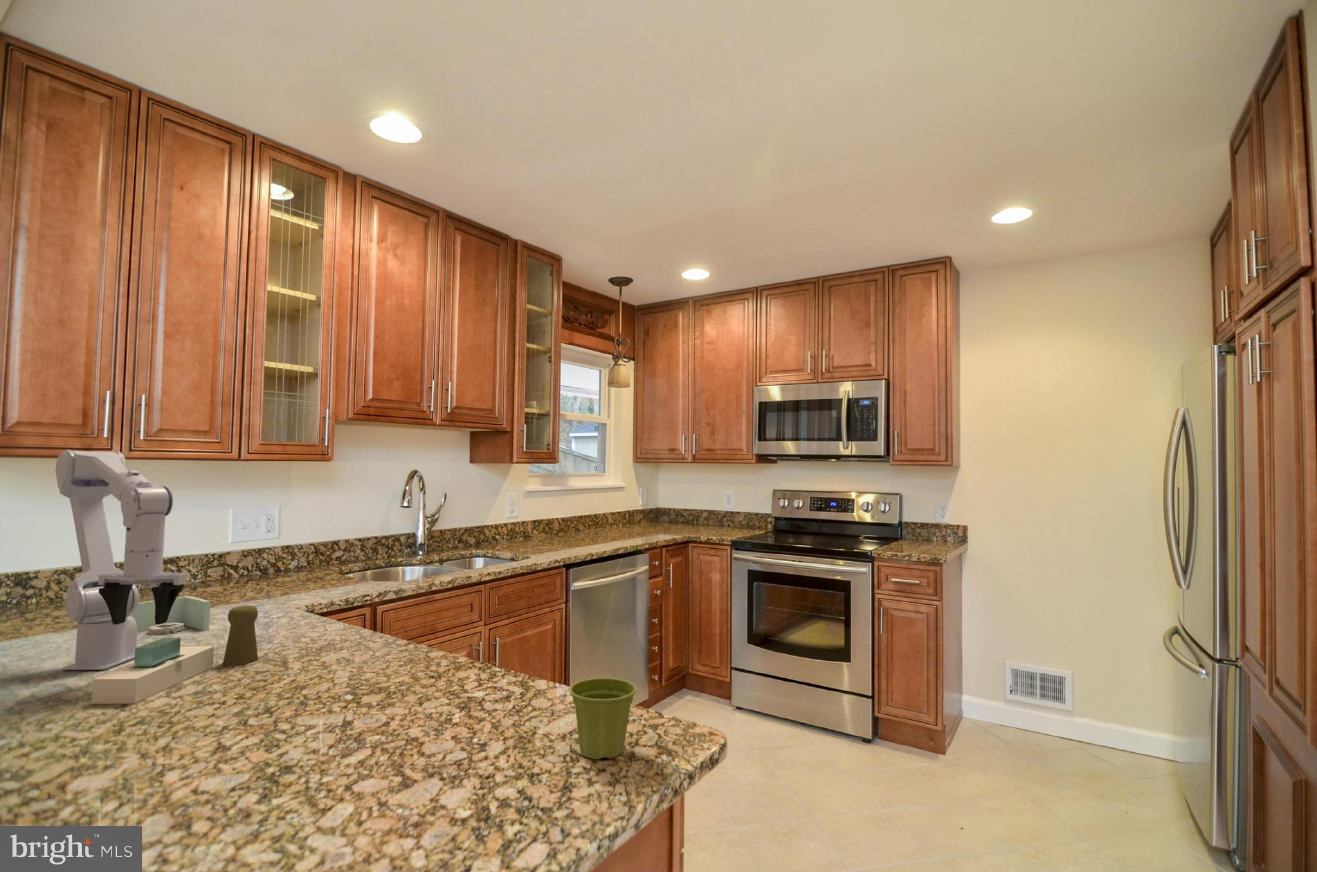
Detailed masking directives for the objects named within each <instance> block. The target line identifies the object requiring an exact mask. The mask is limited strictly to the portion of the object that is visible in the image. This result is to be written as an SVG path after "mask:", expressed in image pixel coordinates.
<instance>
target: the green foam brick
mask: <svg viewBox="0 0 1317 872" xmlns="http://www.w3.org/2000/svg"><path fill="white" fill-rule="evenodd" d="M181 639H182V638H181V637H162V638H159V639H157V640H154V641H151V642H148V643H146V644H143V645H140V646H136V648H135V658H134V665H136V668H155V667H158V663H159V662H161V661H164V660H175V659H177V658H178V655H179V654H180V647H181V641H182V640H181Z"/></svg>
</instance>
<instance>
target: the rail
mask: <svg viewBox="0 0 1317 872" xmlns="http://www.w3.org/2000/svg"><path fill="white" fill-rule="evenodd" d="M214 651H215V646H214V645H211V646H210V645H208V646H207V645H206V646H205V645H203V646H201V645H199V646H198V645H197V646H196V645H194V646H187V645H186V646H180V654H179V655H178V658H177V659H175V660H164V661H161V662H159V663H158V667H155V668H136V665H134V663H131V664H128V665H126V666H123V667H121V668H118V669H115V670H113V671H110V672H108V673H105V674H103V675H100V676H98V677H95V678H93V679H92V685H91V700H90V703H91V704H90V705H103V704H104V705H106V704H107V705H110V704H112V705H113V704H114V705H115V704H117V705H118V704H121V705H122V704H124V705H125V704H138V703H139V702H141V701H143V700H146V699H148V698H149V697H151V696H154V695H157V694H159V693H160V692H163V691H165V690H167V689H169V688H171V687H174V686H175V685H177V684H179V683H182V682H184V681H185V680H188V679H190V678H192V677H194V676H196V675H197V676H198V674H201V673H203V672H206V671H207V670H209V669H212V668H213V667H214V653H215V652H214Z"/></svg>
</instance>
